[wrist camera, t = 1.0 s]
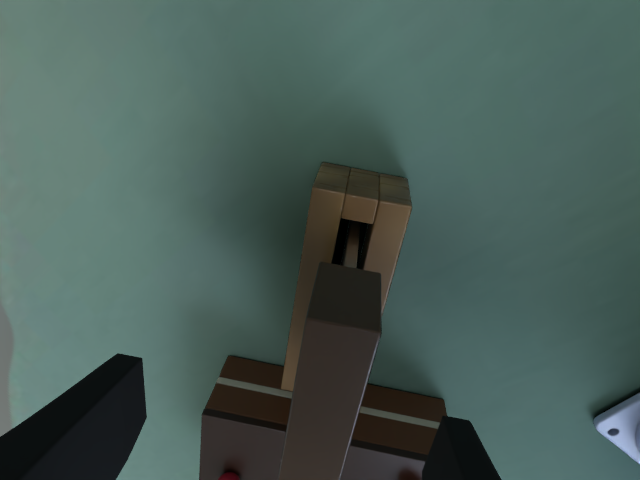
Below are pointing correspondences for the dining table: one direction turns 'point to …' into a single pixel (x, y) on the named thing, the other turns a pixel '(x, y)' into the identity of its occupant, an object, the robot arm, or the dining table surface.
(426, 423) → the chocolate cake
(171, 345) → the dining table surface
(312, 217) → the knife block
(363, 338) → the cake cutter
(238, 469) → the cake slice
